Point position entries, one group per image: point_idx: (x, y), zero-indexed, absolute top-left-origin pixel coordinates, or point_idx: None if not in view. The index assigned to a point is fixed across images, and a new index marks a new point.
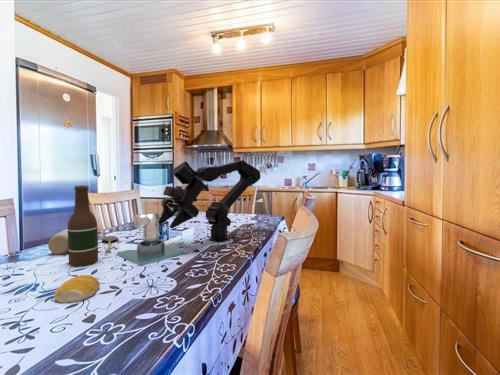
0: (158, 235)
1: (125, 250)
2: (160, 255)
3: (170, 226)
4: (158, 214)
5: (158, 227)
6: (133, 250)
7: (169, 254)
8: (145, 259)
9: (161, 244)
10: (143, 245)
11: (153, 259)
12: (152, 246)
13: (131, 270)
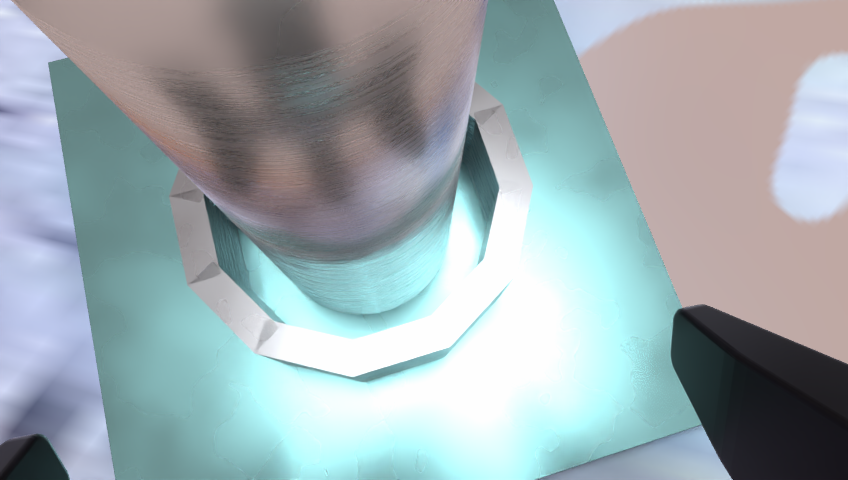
0: (262, 250)
1: (556, 11)
2: (141, 277)
3: (4, 445)
4: (100, 60)
5: (226, 210)
6: (512, 76)
7: (107, 376)
8: (105, 117)
9: (199, 296)
10: (471, 143)
11: (70, 187)
12: (181, 174)
13: (2, 4)
